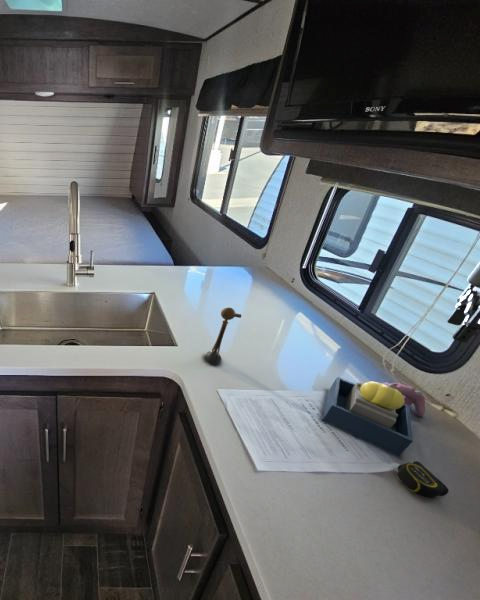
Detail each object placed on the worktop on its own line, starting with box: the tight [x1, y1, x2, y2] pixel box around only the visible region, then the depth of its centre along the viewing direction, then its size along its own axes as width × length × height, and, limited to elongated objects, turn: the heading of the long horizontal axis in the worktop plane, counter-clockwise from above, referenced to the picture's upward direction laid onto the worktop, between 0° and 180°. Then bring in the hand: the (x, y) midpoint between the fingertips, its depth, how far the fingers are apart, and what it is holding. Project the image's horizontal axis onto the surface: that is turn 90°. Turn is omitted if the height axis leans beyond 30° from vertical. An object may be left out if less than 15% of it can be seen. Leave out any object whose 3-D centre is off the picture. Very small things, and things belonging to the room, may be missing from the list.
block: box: [344, 381, 398, 429], centre depth 83 cm, size 8×10×9 cm
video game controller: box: [381, 381, 426, 417], centre depth 89 cm, size 10×5×7 cm, turn 65°
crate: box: [322, 376, 414, 457], centre depth 83 cm, size 16×14×6 cm
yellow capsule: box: [360, 380, 405, 410], centre depth 79 cm, size 8×5×5 cm, turn 51°
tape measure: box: [396, 460, 449, 499], centre depth 69 cm, size 7×7×4 cm
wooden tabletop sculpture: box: [204, 306, 242, 366], centre depth 98 cm, size 6×5×20 cm
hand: (455, 331), depth 72 cm, fingers open, 8 cm apart
